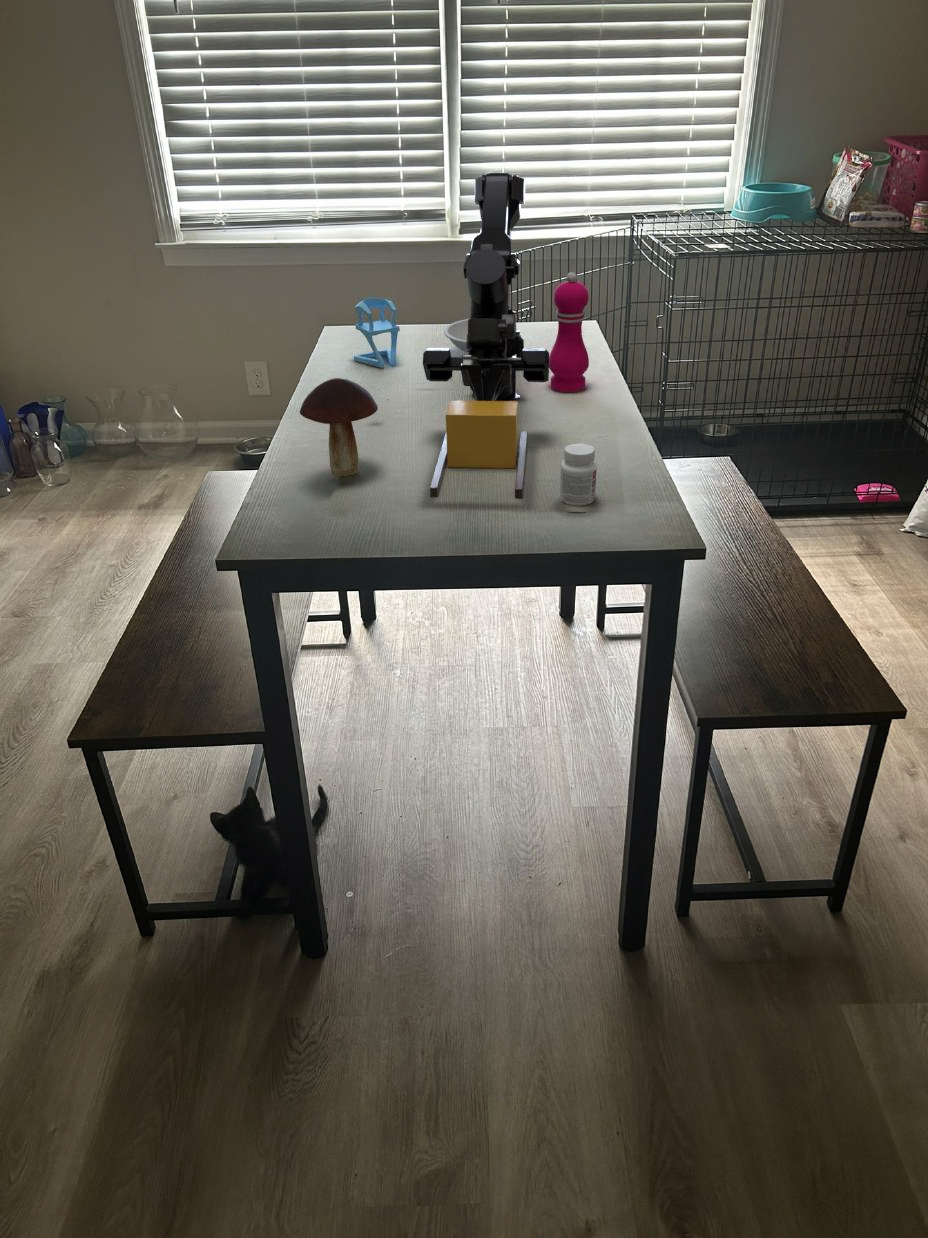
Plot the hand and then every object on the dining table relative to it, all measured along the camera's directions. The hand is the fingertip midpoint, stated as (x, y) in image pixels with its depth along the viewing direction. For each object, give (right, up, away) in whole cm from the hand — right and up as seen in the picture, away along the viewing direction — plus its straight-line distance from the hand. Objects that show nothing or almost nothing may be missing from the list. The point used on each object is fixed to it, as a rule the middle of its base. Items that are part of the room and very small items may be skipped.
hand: (484, 417), depth 140 cm
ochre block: (0, -6, 0) cm, 6 cm away
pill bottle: (+12, -15, -11) cm, 22 cm away
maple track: (0, -9, -1) cm, 9 cm away
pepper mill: (+16, +12, +32) cm, 37 cm away
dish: (0, +23, +50) cm, 55 cm away
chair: (-20, +21, +47) cm, 55 cm away
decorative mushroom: (-20, -10, -1) cm, 23 cm away
